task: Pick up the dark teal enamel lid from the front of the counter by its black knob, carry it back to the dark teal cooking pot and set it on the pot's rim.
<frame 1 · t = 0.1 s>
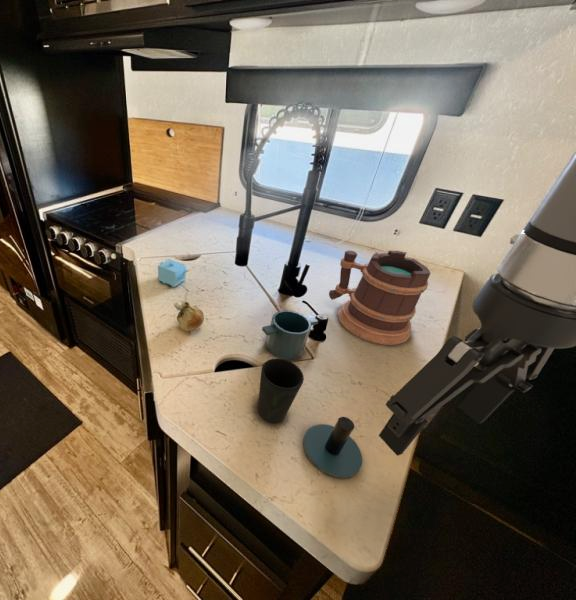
hand: (431, 429, 39), 21 cm above the worktop, tool pointing down, fingers open, 13 cm apart
light-blue knobbed box: (174, 283, 107), on the worktop
lid: (331, 449, 58), point 1 cm above the worktop
pot: (284, 346, 81), on the worktop
cup: (270, 412, 65), on the worktop
onion: (189, 327, 88), on the worktop
mug: (364, 320, 91), on the worktop
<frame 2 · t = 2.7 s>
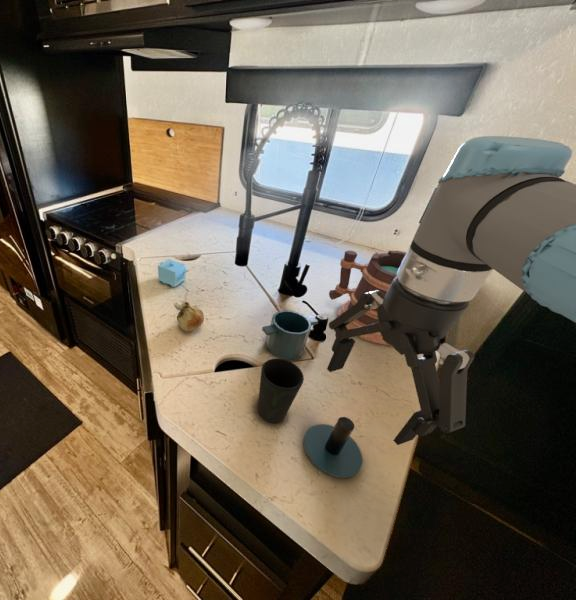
hand: (365, 400, 48), 16 cm above the worktop, tool pointing down, fingers open, 13 cm apart
nothing on the worktop moved.
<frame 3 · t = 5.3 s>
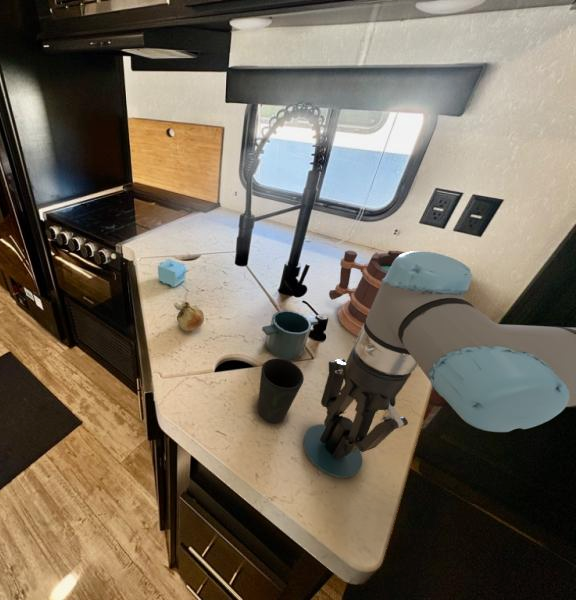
hand: (333, 447, 57), 2 cm above the worktop, tool pointing down, fingers closed on lid, 3 cm apart
lid: (331, 449, 58), point 1 cm above the worktop, touching gripper
everything else where it was.
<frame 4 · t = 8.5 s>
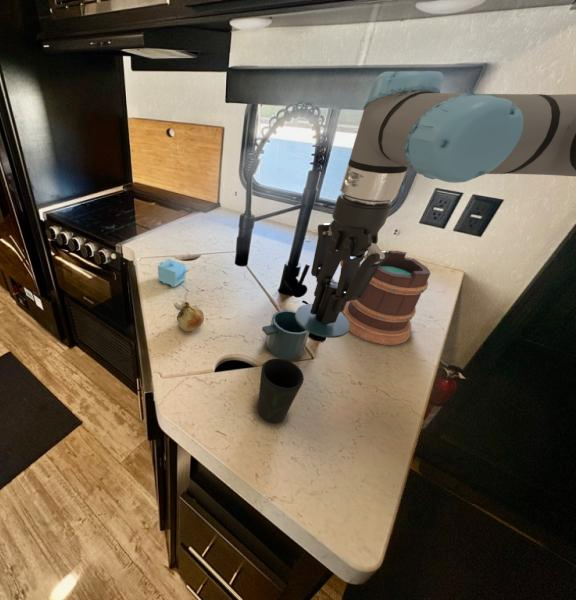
hand: (322, 317, 61), 19 cm above the worktop, tool pointing down, fingers closed on lid, 3 cm apart
lid: (321, 320, 61), point 18 cm above the worktop, touching gripper
everything else where it was.
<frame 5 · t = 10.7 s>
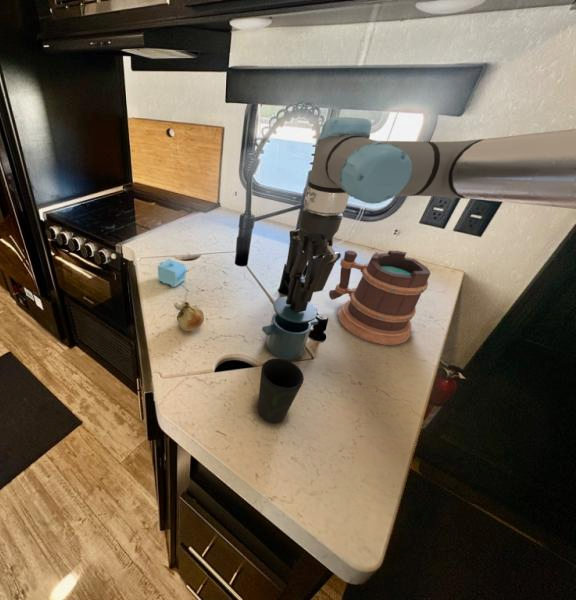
hand: (295, 306, 74), 13 cm above the worktop, tool pointing down, fingers closed on lid, 3 cm apart
lid: (294, 309, 74), point 12 cm above the worktop, touching gripper
everything else where it was.
when the fingers open (9 cm above the worktop, at t = 11.9 s): lid stays where it is, resting on pot.
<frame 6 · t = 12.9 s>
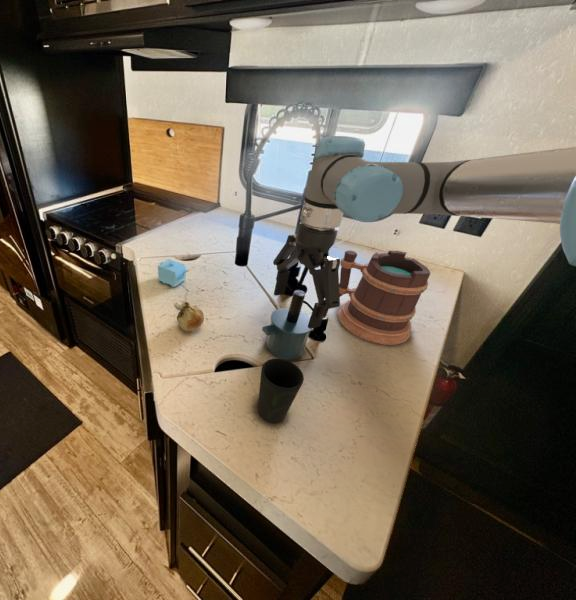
hand: (295, 309, 74), 12 cm above the worktop, tool pointing down, fingers open, 13 cm apart
lid: (291, 321, 76), point 8 cm above the worktop, touching pot
everything else where it was.
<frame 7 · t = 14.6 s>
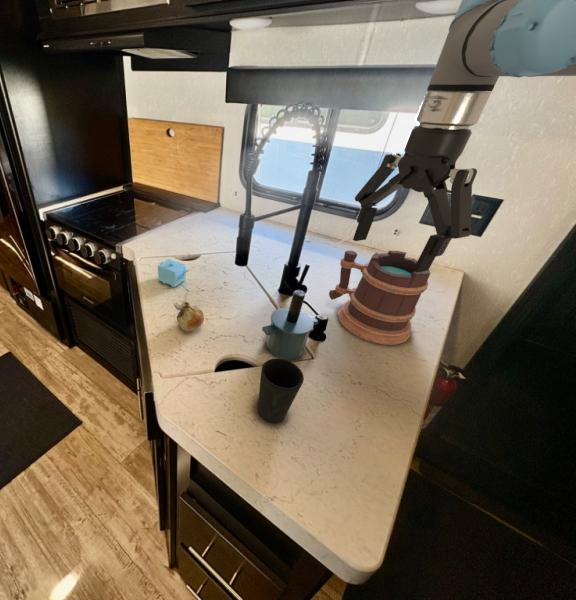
hand: (387, 253, 59), 30 cm above the worktop, tool pointing down, fingers open, 13 cm apart
nothing on the worktop moved.
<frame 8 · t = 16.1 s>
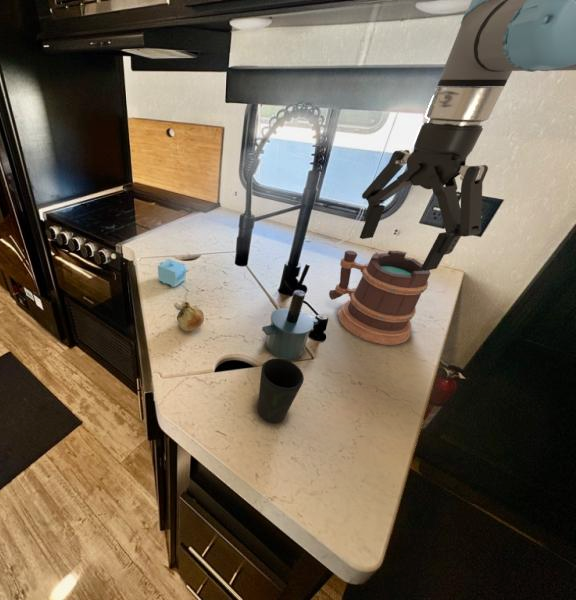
hand: (394, 251, 58), 31 cm above the worktop, tool pointing down, fingers open, 13 cm apart
nothing on the worktop moved.
at the end: lid 0.0 cm off-centre on the pot, point 8.5 cm above the pot's base; lid tilted 0° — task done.
